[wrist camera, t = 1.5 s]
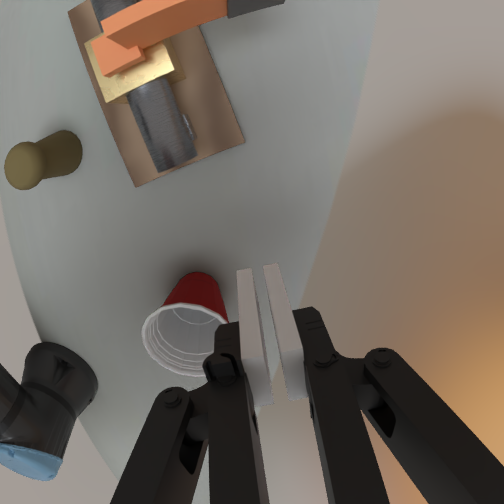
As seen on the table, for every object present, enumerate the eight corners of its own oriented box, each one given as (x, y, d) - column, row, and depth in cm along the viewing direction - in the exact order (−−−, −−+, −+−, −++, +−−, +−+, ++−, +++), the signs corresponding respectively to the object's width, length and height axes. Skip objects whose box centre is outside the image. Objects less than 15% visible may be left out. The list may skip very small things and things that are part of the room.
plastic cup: (144, 275, 43) (120, 327, 32) (211, 241, 42) (205, 288, 31) (184, 331, 48) (175, 390, 37) (249, 304, 46) (255, 361, 35)
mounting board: (138, 185, 38) (135, 187, 37) (72, 14, 28) (67, 11, 26) (244, 141, 37) (245, 142, 36) (171, -35, 26) (169, -40, 25)
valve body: (157, 168, 36) (140, 182, 29) (92, 3, 26) (65, -16, 19) (213, 145, 35) (208, 153, 28) (144, -24, 26) (126, -50, 19)
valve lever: (114, 79, 24) (74, 69, 17) (102, 47, 23) (61, 30, 15) (285, 13, 23) (305, -20, 15) (270, -18, 21) (285, -58, 14)
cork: (41, 136, 34) (-8, 148, 24) (78, 125, 34) (32, 132, 24) (49, 179, 37) (3, 202, 27) (86, 170, 37) (43, 191, 27)
